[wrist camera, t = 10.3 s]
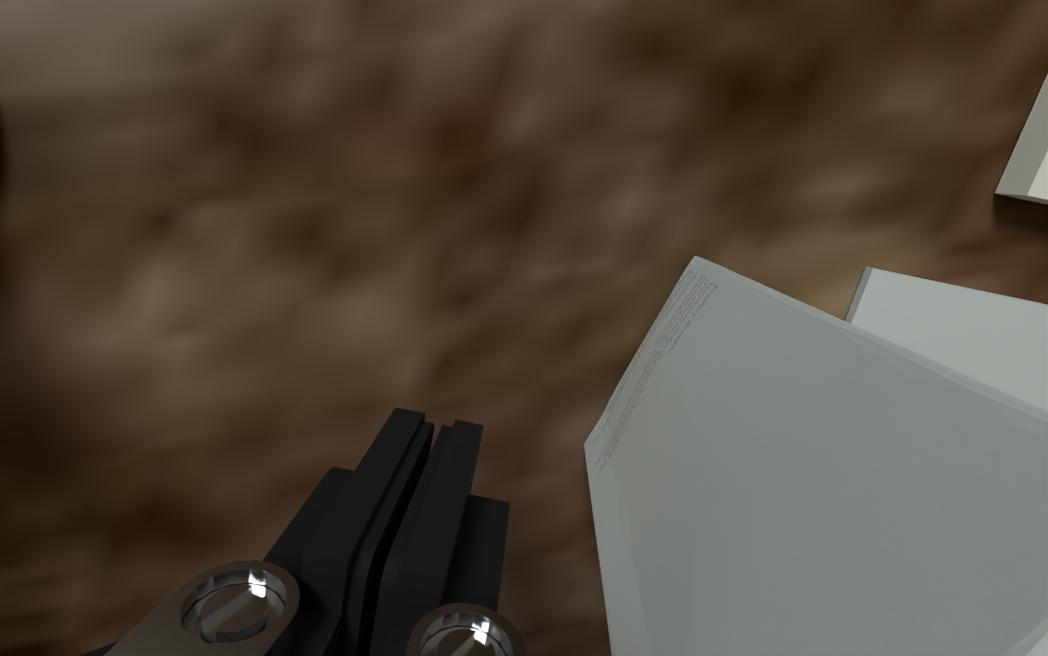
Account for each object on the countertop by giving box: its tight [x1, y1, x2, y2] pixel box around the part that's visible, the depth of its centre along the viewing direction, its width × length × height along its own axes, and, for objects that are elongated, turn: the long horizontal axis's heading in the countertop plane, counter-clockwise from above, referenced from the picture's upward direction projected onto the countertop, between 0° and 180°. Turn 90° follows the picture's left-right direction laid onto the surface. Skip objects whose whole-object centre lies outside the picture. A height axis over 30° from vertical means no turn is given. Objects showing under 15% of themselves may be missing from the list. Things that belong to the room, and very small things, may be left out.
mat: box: [845, 267, 1048, 411], centre depth 19 cm, size 17×10×1 cm, turn 79°
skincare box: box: [584, 256, 1048, 656], centre depth 12 cm, size 8×6×15 cm
